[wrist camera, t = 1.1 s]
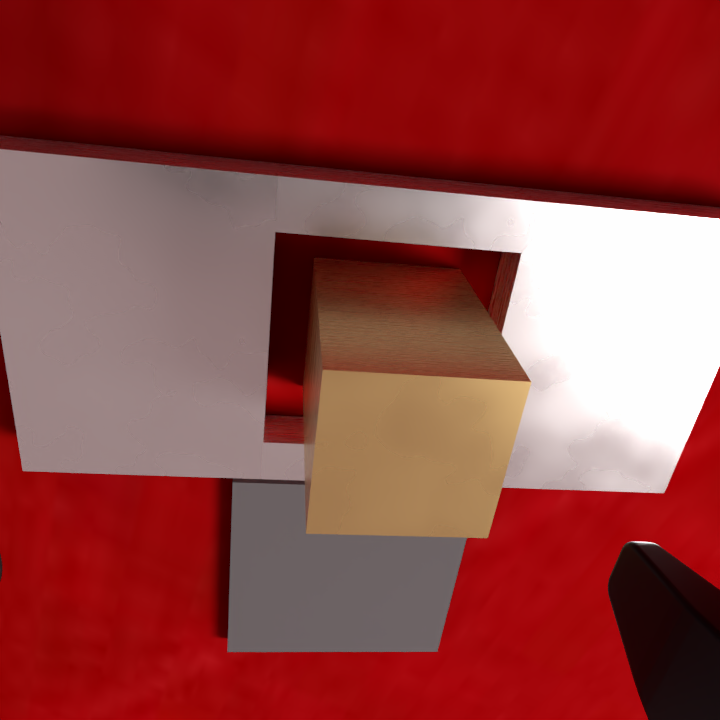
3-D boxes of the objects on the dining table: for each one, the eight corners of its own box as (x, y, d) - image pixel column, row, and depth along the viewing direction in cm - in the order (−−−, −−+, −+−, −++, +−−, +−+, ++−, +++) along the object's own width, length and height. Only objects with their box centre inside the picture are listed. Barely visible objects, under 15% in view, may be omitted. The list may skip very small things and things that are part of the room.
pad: (475, 480, 24) (479, 490, 24) (434, 639, 29) (437, 651, 28) (233, 471, 23) (232, 482, 23) (228, 639, 27) (227, 651, 27)
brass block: (460, 268, 20) (531, 381, 14) (434, 393, 22) (487, 538, 16) (313, 256, 20) (322, 369, 14) (302, 385, 22) (305, 534, 16)
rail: (746, 209, 20) (780, 225, 19) (642, 465, 25) (664, 493, 23) (-4, 134, 17) (-31, 146, 16) (40, 441, 22) (22, 470, 20)
